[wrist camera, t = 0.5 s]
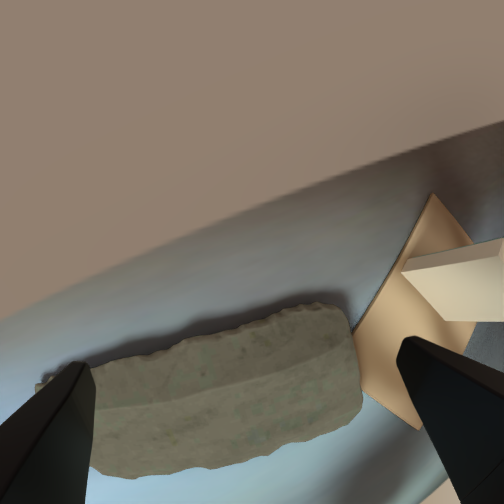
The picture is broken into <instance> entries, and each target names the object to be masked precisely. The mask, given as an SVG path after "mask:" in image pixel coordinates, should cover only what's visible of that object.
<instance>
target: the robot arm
mask: <svg viewBox="0 0 504 504" xmlns="http://www.w3.org/2000/svg"><path fill="white" fill-rule="evenodd" d="M396 365H397V368H398V370H399V372H400V375H401V377H402V380H403V382H404V384H405V387H406V389H407V392H408V394H409V397H410V399H411V401H412V404H413V406H414V408H415V410H416V411H417V413H418V415H419V417H420V419H421V421H422V423H423V425H424V427H425V429H426V431H427V433H428V435H429V437H430V439H431V441H432V443H433V445H434V447H435V449H436V451H437V453H438V455H439V457H440V459H441V461H442V463H443V465H444V467H445V470H446V472H447V474H448V476H449V478H450V480H451V482H452V485H453V487H454V489H455V491H456V493H457V496H458V498H459V500H460V501H461V502H460V503H461V504H504V373H503V372H500V371H498V370H496V369H493V368H491V367H489V366H486V365H484V364H482V363H479V362H477V361H474V360H472V359H470V358H467V357H465V356H463V355H460V354H458V353H456V352H453V351H451V350H449V349H446V348H444V347H442V346H439V345H437V344H435V343H433V342H430V341H428V340H426V339H423V338H421V337H419V336H416V335H414V336H409V337H405V338H404V339H403V340H402V343H401V346H400V349H399V351H398V354H397V357H396ZM95 401H96V385H95V382H94V379H93V376H92V373H91V370H90V367H89V365H88V363H86V362H80V361H73V362H71V363H70V364H69V365H68V366H67V367H65V368H64V369H63V370H62V371H61V372H60V373H59V374H57V375H56V376H55V377H54V378H53V379H52V380H51V381H49V382H48V383H47V384H46V385H45V386H44V387H43V388H41V389H40V390H39V391H38V392H37V393H36V394H35V395H33V396H32V397H31V398H30V399H29V400H28V401H27V402H26V403H25V404H23V405H22V406H21V407H20V408H19V409H18V410H17V411H16V412H14V413H13V414H12V415H11V416H10V417H9V418H8V419H7V420H6V421H5V422H3V423H2V424H1V425H0V504H85V497H86V488H87V480H88V472H89V464H90V457H91V451H92V444H93V433H94V415H95Z"/></svg>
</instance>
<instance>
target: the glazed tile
mask: <svg viewBox="0 0 504 504" xmlns="http://www.w3.org/2000/svg"><path fill="white" fill-rule="evenodd" d="M401 273H402V275H403V276H404V277H405V278H406V279H407V280H408V281H409V282H410V283H411V284H412V285H413V286H414V287H415V288H416V289H417V290H418V291H419V293H420V294H421V295H422V296H423V297H424V298H425V299H426V300H427V301H428V302H429V303H430V304H431V306H432V307H433V308H434V309H435V310H436V311H437V312H438V313H439V315H440V316H441V317H442V318H443V319H444V320H445V321H475V322H504V237H501V238H497V239H493V240H489V241H484V242H480V243H476V244H472V245H467V246H463V247H458V248H454V249H450V250H445V251H441V252H436V253H431V254H427V255H422V256H417V257H413V258H411V259H408V260H407V261H406V263H405V265H404V267H403V269H402V271H401Z"/></svg>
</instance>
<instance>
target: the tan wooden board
mask: <svg viewBox="0 0 504 504" xmlns="http://www.w3.org/2000/svg"><path fill="white" fill-rule="evenodd" d="M472 244H474V243H473V242H472V240H471V239H470V238H469V236H468V235H467V234H466V232H465V231H464V230H463V228H462V227H461V226H460V225H459V223H458V222H457V221H456V220H455V218H454V217H453V216H452V215H451V213H450V212H449V211H448V210H447V208H446V207H445V206H444V205H443V204H442V202H441V201H440V200H439V199H438V198H437V197H436V195H435V194H434V193H432V194H430V196H429V198H428V201H427V203H426V205H425V207H424V209H423V211H422V213H421V215H420V217H419V219H418V221H417V223H416V225H415V227H414V229H413V230H412V232H411V234H410V236H409V238H408V240H407V242H406V244H405V246H404V247H403V249H402V251H401V253H400V255H399V256H398V258H397V260H396V262H395V264H394V265H393V267H392V269H391V271H390V272H389V274H388V276H387V277H386V279H385V281H384V283H383V284H382V286H381V288H380V289H379V291H378V292H377V294H376V296H375V297H374V299H373V301H372V302H371V304H370V305H369V307H368V309H367V310H366V312H365V313H364V315H363V316H362V318H361V320H360V321H359V323H358V324H357V326H356V327H355V329H354V330H353V332H352V333H351V334H352V337H353V343H354V348H355V351H356V356H357V360H358V366H359V371H360V386H361V390H362V391H364V392H365V393H366V394H368V395H369V396H370V397H372V398H373V399H374V400H376V401H377V402H379V403H380V404H381V405H383V406H384V407H385V408H387V409H388V410H390V411H391V412H392V413H394V414H395V415H396V416H398V417H399V418H401V419H402V420H403V421H405V422H406V423H408V424H409V425H410V426H412V427H413V428H415V429H416V430H418V431H419V430H420V428H421V427H422V425H423V423H422V421H421V419H420V417H419V415H418V413H417V411H416V410H415V408H414V406H413V404H412V401H411V399H410V397H409V394H408V392H407V389H406V387H405V384H404V382H403V380H402V377H401V375H400V372H399V370H398V368H397V365H396V357H397V354H398V351H399V349H400V346H401V343H402V340H403V339H404V338H405V337H409V336H414V335H416V336H419V337H421V338H423V339H426V340H428V341H430V342H433V343H435V344H437V345H439V346H442V347H444V348H446V349H449V350H451V351H453V352H456V353H458V354H460V355H462V354H463V352H464V350H465V348H466V346H467V344H468V342H469V339H470V337H471V335H472V333H473V330H474V328H475V326H476V323H477V322H475V321H445V320H444V319H443V318H442V317H441V316H440V315H439V313H438V312H437V311H436V310H435V309H434V308H433V307H432V306H431V304H430V303H429V302H428V301H427V300H426V299H425V298H424V297H423V296H422V295H421V294H420V293H419V291H418V290H417V289H416V288H415V287H414V286H413V285H412V284H411V283H410V282H409V281H408V280H407V279H406V278H405V277H404V276H403V275H402V273H401V271H402V269H403V267H404V265H405V263H406V261H407V260H408V259H411V258H413V257H417V256H422V255H427V254H431V253H436V252H441V251H445V250H450V249H454V248H458V247H463V246H467V245H472Z"/></svg>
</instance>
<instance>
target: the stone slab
mask: <svg viewBox="0 0 504 504" xmlns="http://www.w3.org/2000/svg"><path fill="white" fill-rule="evenodd" d="M90 370H91V373H92V376H93V379H94V382H95V385H96V401H95V415H94V433H93V444H92V451H91V457H90V464H89V466H91V467H93V468H94V469H96V470H97V471H98V472H100V473H101V474H103V475H107V476H114V477H120V478H125V479H136V478H138V477H143V476H147V475H170V474H173V473H176V472H180V471H182V470H185V469H188V468H193V467H203V468H207V469H217V468H220V467H224V466H228V465H232V464H236V463H242V462H246V461H248V460H249V459H252V458H254V457H257V456H268V455H270V454H271V453H272V452H274V451H275V450H277V449H278V448H280V447H281V446H282V445H285V444H287V443H291V442H306V441H309V440H311V439H313V438H315V437H317V436H319V435H322V434H326V433H329V432H332V431H334V430H337V429H338V428H340V427H342V426H345V425H347V424H349V423H350V422H351V420H352V419H353V418H354V417H355V416H356V415H357V414H358V413H359V412H360V410H361V408H362V403H363V395H362V391H361V386H360V371H359V366H358V360H357V356H356V351H355V348H354V343H353V337H352V334H351V331H350V326H349V322H348V319H347V318H346V316H345V315H344V313H343V312H342V310H341V309H340V308H339V307H337V306H335V305H333V304H323V303H320V302H314V303H312V304H310V305H304V304H299V305H297V306H295V307H292V308H285V309H282V310H281V311H280V312H278V313H274V314H271V315H270V316H268V317H267V318H265V319H260V320H256V321H252V322H250V323H249V324H243V325H240V326H239V327H238V328H236V329H231V330H225V331H222V332H219V333H215V334H211V335H200V336H194V337H191V338H185V339H183V340H182V341H181V342H180V343H178V344H175V345H173V346H172V347H171V348H169V349H167V350H160V351H156V352H154V353H152V354H150V355H136V356H132V357H127V358H121V359H117V360H113V361H110V362H108V363H105V364H103V365H100V366H98V367H95V368H91V369H90ZM54 377H55V375H54V376H51V377H50V378H49V379H48V381H47V382H46V383H37V384H36V385H35V394H36V393H37V392H38V391H39V390H40V389H41V388H43V387H44V386H45V385H46V384H47V383H48V382H49V381H51V380H52V379H53V378H54Z"/></svg>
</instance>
